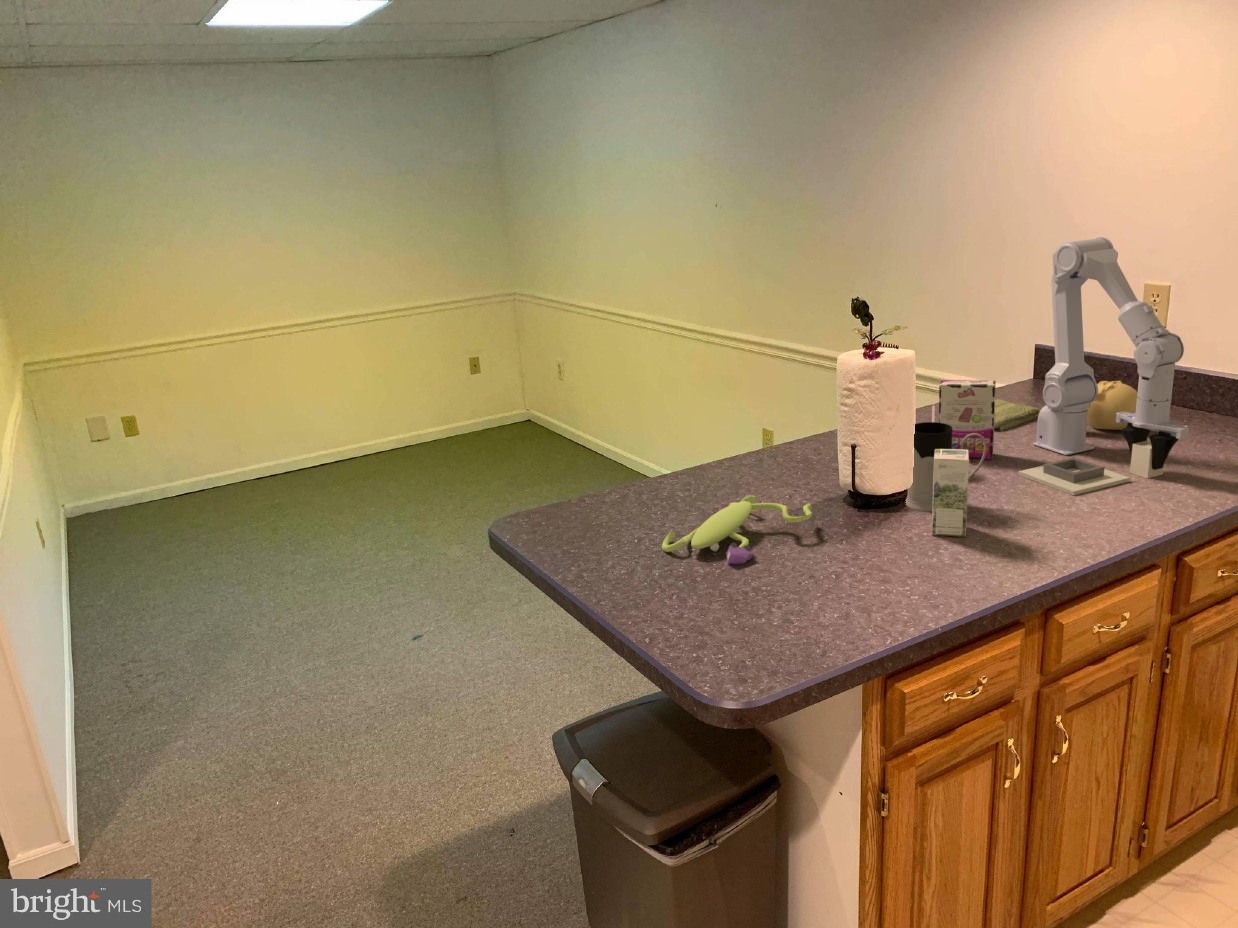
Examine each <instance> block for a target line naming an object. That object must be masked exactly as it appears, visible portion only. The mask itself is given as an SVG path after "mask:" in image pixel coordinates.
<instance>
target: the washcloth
mask: <svg viewBox="0 0 1238 928" xmlns="http://www.w3.org/2000/svg"><path fill="white" fill-rule="evenodd" d="M1040 411H1041V409H1039V408H1038V407H1034V406H1029V405H1024V404H1021V403H1019V404H1017V403H1012V402H1011V401H1008V400H1002V399H996V398H995V419H994V431H999V432H1002V431H1003V432H1004V431H1005V430H1008V429H1011V428H1013V427H1016V426H1019V425H1021V424H1024V423H1026V422H1029V421H1031V420H1034V419H1038V415H1039V413H1040Z"/></svg>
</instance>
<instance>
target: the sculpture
mask: <svg viewBox="0 0 1238 928" xmlns="http://www.w3.org/2000/svg"><path fill="white" fill-rule="evenodd" d="M1097 385H1098V395H1097V397H1096V399H1095V400H1094V401H1093V402H1091V407H1090V408H1088V414H1087V423H1089V425H1090V426H1091V427H1093V428H1094V429H1096V430H1117V431H1118V430H1119V431H1120V430H1122V428H1126V426H1127V424H1126V423H1117V422H1116V414H1117V413H1119V412H1129V413H1136V403H1137V393H1138V390H1136V389H1134V388H1133V387H1132V386H1130V385H1129V384H1126V383H1123V382H1122V381H1121V380H1114V381H1113V380H1112V381H1108V380H1101V381H1099V382H1098V383H1097Z"/></svg>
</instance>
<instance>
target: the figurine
mask: <svg viewBox="0 0 1238 928" xmlns="http://www.w3.org/2000/svg"><path fill="white" fill-rule="evenodd" d="M755 501H756V496H755V495H751V494H749V495H747V496H745V497H743V498H742V499H741V501H740V502H736V501H734V502H730V503H729V504H728V506H726V507H724V508H722V509H720V510H719V511H717V512H716V513H714V514H712V515H711V516H710V517H709V518H708V519H706V520H705V521H704V522H702V524H701V525H700V526H699V527H698V528H695V529H694V530H693V531H691V532H690V533H689V534H687V535H685V536H683V537H682V538H680V539H679V540H677V541H675V542H674V543H672V544H669V543H671V542H672V540H673V539H674V537H676V532H675V530H670V531H669V532H668V533H667V534H666V536H665V537H664V540H663V542H662V544H661V549H662V551H664V552H666V553H671V552H673V551H676V550H679V549H680V548H682V547H684V546H685V545H686V544H687V543H688V542H689V541H690V540H691V541H690V542H691V543H690V546H691V547H692V548H694V549H699V550H700V549H701V550H703V549H705V548H708V547H709V548H710V550H711V552H712V551H713V552H715V553H717V552H718V550H719V548H720V545H719V543H720V542H721V541H723V540H724V539H726V538H728V537H729V538H731V539H732V540H736V541H739V542H741V544H740V545H739V546H738V544H737V543H736V542H731V543H730V545H729V546H728V548H727V551H726V552H725V554H726V555H725V556H726V563H727V564H733V565H737V564H739V565H740V564H741V565H742V564H746V562H747V561H749V560H750V561H751V559H752V558H753V555H754V551H755V550H754V549H752V547H751V546H750V545H749V543H750V542H749V539H748V538H747V537H745V536H743V535H741V534H738V533H736V531H737V529H738V528H740V527H741V526H742V525H743V524H744V523H745V522H746V520H747V519H748V518H749V515H750V513H751V511H756V510H757V511H758V510H775V511H776V510H777V511H780V512H781V513H782V519H783V520H784V521H785V522H786V523H798V522H799V523H800V522H803V521H806V520H809V519H810V518H811V517H813V516H812V515H813V512H812V511H811V510H812V509H813V507H812V506H813V505H812V504H811V503H806V504H805V505H803V507H802V510H803V513H804V514H805V515H802V516H790V515H789V509H788V507H787V505H784V504H780V503H777V502H776V503H775V502H758V503H755Z"/></svg>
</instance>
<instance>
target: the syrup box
mask: <svg viewBox="0 0 1238 928" xmlns="http://www.w3.org/2000/svg"><path fill="white" fill-rule="evenodd" d="M969 472H970V459H969V451H968V450H962V449H935V454H934V475H933V507H932V512H931V513H932V515H931V535H932V536H946V537H960V538H961V537H962V538H963V537H966V536H967V517H968V495H969V493H968V492H969V479H970V478H969V474H970V473H969ZM968 478H969V479H968Z"/></svg>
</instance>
